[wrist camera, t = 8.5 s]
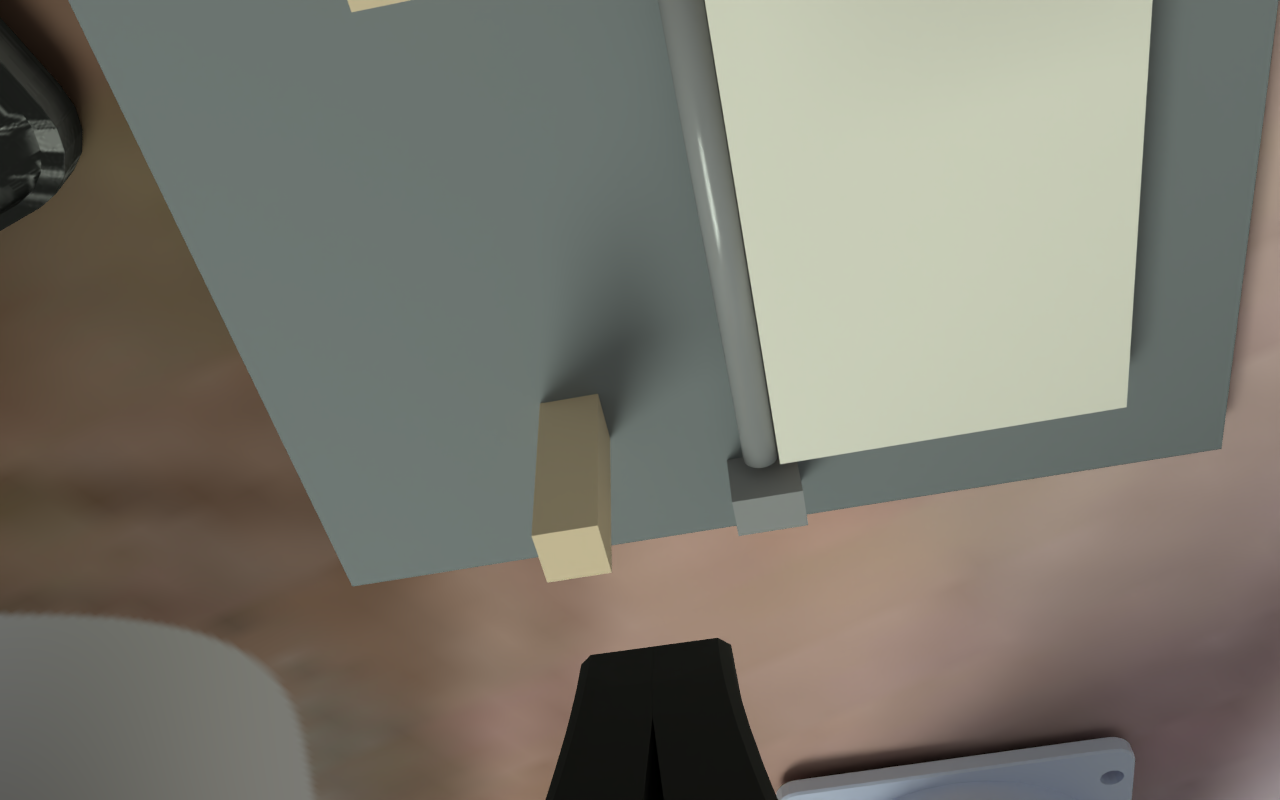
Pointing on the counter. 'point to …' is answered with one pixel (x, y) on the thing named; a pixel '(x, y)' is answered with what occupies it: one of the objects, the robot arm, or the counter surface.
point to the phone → (32, 131)
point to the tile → (914, 210)
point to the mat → (584, 270)
